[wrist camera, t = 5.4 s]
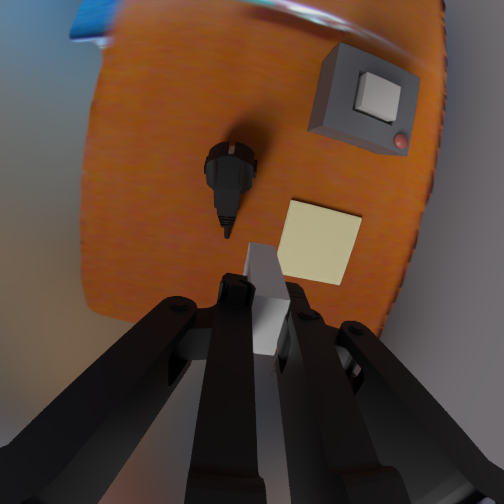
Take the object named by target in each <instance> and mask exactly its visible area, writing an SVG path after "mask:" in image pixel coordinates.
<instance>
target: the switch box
mask: <svg viewBox="0 0 504 504" xmlns="http://www.w3.org/2000/svg"><path fill="white" fill-rule="evenodd" d="M366 72H369V73H371V74H374V75H376V76H378V77H381V78H383V79H385V80H387V81H390V82H392V83H394V84H396V85H398V86H400V87H401V90H400V97H399V103H398V109H397V114H396V120H395V121H388V122H382V121H379V120H377V119H374V118H372V117H369V116H367V115H364V114H362V113H359V112H356V111H353V110H352V108H353V103H354V98H355V93H356V88H357V83H358V77H360V76H361V75H363V74H365V73H366ZM419 81H420V78H419V77H417V76H415V75H413V74H412V73H410V72H408V71H406V70H404V69H402V68H400V67H398V66H396V65H394V64H392V63H390V62H388V61H385V60H383V59H381V58H379V57H377V56H374V55H372V54H370V53H367V52H365V51H362V50H360V49H357V48H355V47H352V46H350V45H347V44H344V43H341V42H340V43H339V44H338V45H337V46H336V47H335V48H334V49H333V51H332V52H331V53H330V54H329V55H328V56H327V57H326V59H325V60H324V61H323V62H322V67H321V72H320V77H319V81H318V86H317V90H316V95H315V99H314V104H313V108H312V113H311V117H310V121H309V126H308V130H307V131H309V132H313V133H316V134H320V135H323V136H326V137H330V138H333V139H336V140H339V141H342V142H345V143H348V144H351V145H354V146H357V147H360V148H363V149H365V150H368V151H371V152H374V153H376V154H383V155H395V156H406V157H407V153H408V148H409V143H410V138H411V133H412V128H413V122H414V117H415V110H416V104H417V97H418V90H419Z"/></svg>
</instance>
